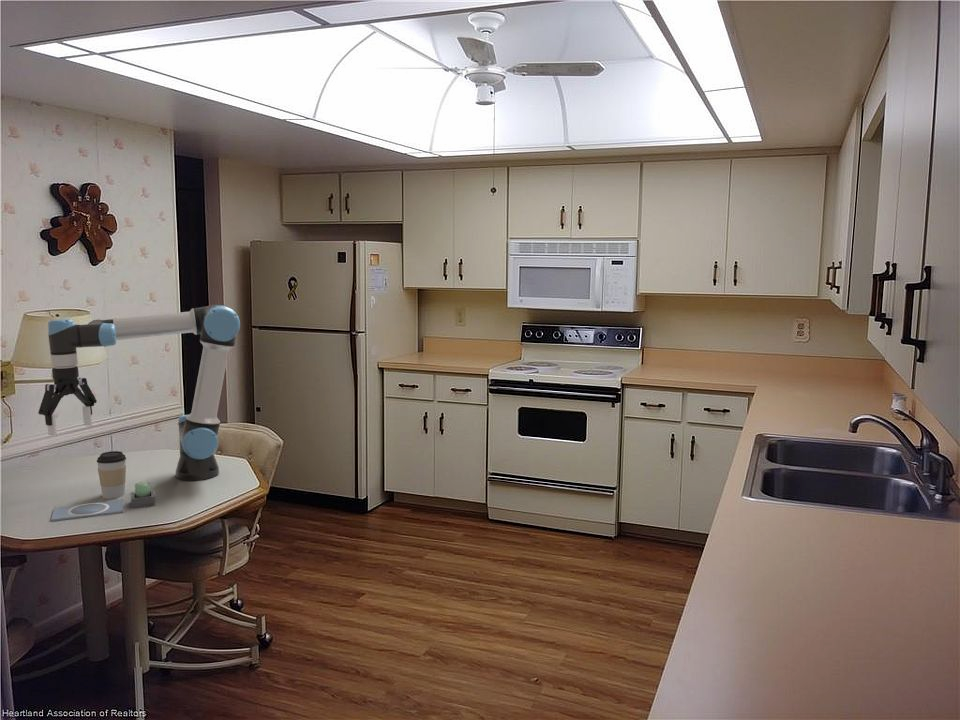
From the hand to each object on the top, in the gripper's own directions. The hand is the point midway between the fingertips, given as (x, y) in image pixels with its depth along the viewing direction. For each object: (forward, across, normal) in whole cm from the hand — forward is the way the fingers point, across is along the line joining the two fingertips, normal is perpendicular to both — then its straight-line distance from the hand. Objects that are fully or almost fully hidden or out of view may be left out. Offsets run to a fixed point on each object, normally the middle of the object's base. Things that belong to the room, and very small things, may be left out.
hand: (70, 430), depth 248 cm
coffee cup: (+24, -8, +8) cm, 27 cm away
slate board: (+24, +7, +13) cm, 28 cm away
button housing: (+24, -5, +24) cm, 34 cm away
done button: (+21, -5, +24) cm, 32 cm away
